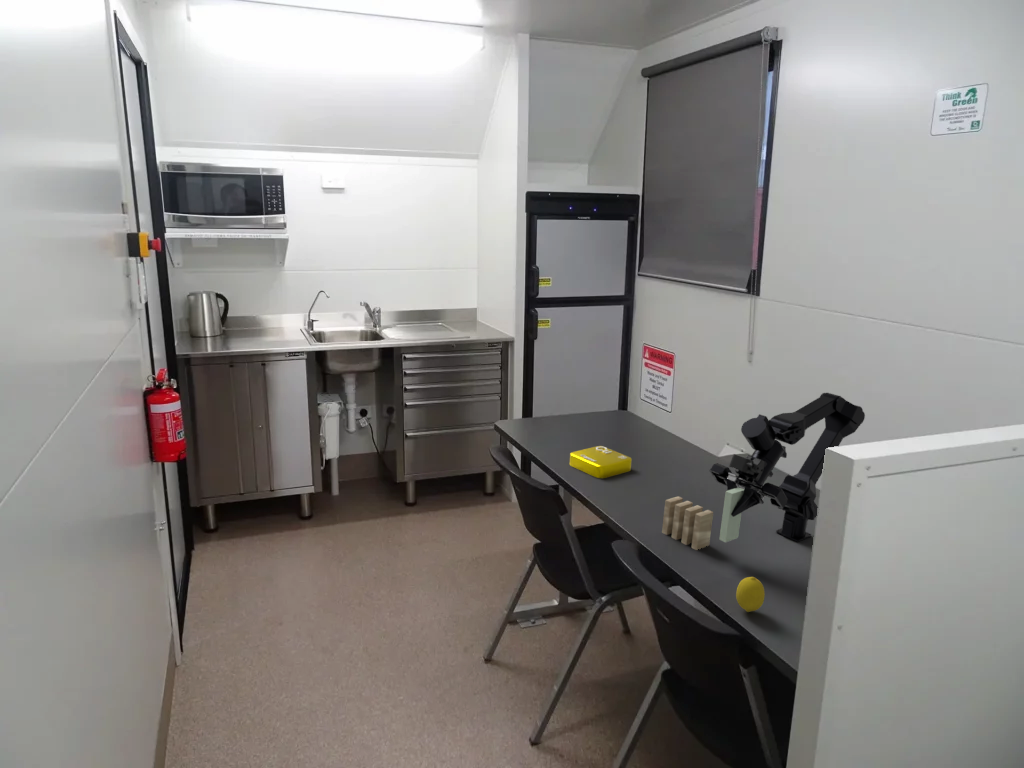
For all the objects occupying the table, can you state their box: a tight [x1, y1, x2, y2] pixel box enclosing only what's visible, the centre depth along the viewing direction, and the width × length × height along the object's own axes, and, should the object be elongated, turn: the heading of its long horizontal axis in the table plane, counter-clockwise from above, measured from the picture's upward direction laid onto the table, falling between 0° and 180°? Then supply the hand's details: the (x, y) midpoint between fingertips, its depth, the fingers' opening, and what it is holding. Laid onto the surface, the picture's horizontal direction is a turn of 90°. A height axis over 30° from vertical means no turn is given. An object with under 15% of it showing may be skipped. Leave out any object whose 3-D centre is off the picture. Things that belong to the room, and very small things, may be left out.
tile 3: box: [671, 500, 694, 541], centre depth 179 cm, size 2×5×9 cm, turn 126°
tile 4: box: [661, 495, 684, 536], centre depth 181 cm, size 2×5×9 cm, turn 127°
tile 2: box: [680, 504, 704, 546], centre depth 176 cm, size 2×5×9 cm, turn 126°
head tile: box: [718, 487, 745, 544], centre depth 166 cm, size 2×5×12 cm, turn 127°
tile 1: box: [691, 509, 714, 551], centre depth 174 cm, size 2×5×9 cm, turn 126°
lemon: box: [735, 576, 766, 613], centre depth 146 cm, size 6×6×8 cm
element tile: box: [569, 445, 633, 479], centre depth 225 cm, size 15×15×5 cm
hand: (728, 513), depth 165 cm, fingers closed on head tile, 2 cm apart
